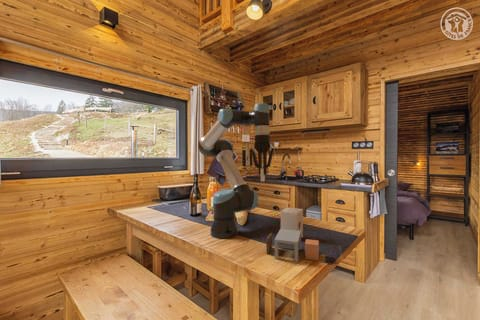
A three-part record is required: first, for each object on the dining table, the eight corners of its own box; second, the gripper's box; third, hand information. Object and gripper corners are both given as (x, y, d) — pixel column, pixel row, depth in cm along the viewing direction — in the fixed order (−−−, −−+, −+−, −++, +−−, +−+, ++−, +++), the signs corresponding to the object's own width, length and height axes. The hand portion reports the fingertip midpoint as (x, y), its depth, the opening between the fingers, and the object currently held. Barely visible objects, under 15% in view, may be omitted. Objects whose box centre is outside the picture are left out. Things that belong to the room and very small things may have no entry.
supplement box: (298, 244, 107) (297, 212, 106) (280, 240, 112) (279, 210, 111) (303, 237, 114) (303, 208, 114) (286, 234, 119) (286, 206, 119)
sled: (266, 257, 94) (266, 238, 93) (270, 250, 100) (270, 232, 100) (325, 265, 86) (325, 245, 85) (325, 257, 92) (325, 238, 92)
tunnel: (274, 262, 89) (274, 239, 89) (280, 248, 102) (280, 228, 101) (297, 265, 86) (297, 242, 86) (300, 251, 98) (300, 230, 98)
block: (305, 258, 89) (305, 243, 89) (306, 253, 94) (305, 239, 94) (318, 260, 87) (318, 245, 87) (318, 254, 92) (318, 240, 92)
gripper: (247, 134, 112) (248, 181, 113) (273, 133, 108) (273, 182, 108) (252, 135, 119) (252, 179, 120) (276, 134, 115) (276, 180, 115)
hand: (262, 181), depth 114 cm, fingers closed
